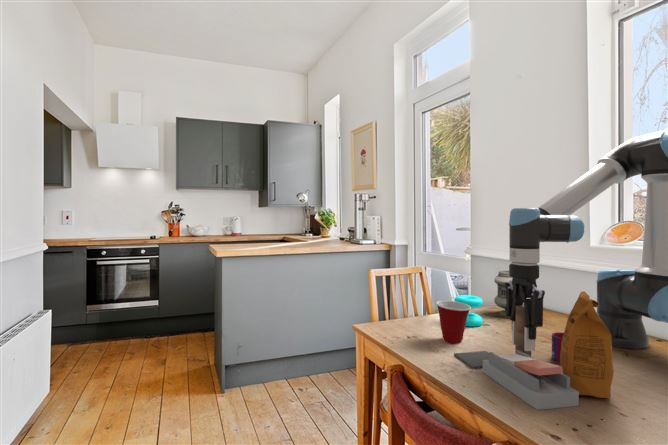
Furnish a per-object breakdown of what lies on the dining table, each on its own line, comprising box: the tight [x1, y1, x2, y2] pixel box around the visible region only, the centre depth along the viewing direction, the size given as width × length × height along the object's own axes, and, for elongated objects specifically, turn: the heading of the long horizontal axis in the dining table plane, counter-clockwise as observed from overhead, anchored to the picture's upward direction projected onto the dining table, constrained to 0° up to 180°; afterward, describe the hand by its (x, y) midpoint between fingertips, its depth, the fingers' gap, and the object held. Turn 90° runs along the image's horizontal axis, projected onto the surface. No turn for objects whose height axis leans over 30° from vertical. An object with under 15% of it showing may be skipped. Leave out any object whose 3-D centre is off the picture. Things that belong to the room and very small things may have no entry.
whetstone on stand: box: [482, 350, 580, 411], centre depth 90 cm, size 10×20×6 cm, turn 11°
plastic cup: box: [436, 300, 472, 344], centre depth 124 cm, size 11×11×12 cm
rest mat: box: [453, 350, 489, 370], centre depth 107 cm, size 10×10×1 cm
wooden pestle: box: [514, 305, 532, 357], centre depth 107 cm, size 4×4×15 cm
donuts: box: [453, 294, 484, 328], centre depth 143 cm, size 10×10×10 cm
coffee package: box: [559, 291, 615, 399], centre depth 89 cm, size 10×12×22 cm
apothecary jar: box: [493, 269, 524, 319], centre depth 155 cm, size 12×12×18 cm
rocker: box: [497, 353, 563, 376], centre depth 90 cm, size 16×6×1 cm, turn 11°
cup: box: [551, 331, 564, 364], centre depth 106 cm, size 7×10×7 cm
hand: (523, 347), depth 107 cm, fingers open, 4 cm apart
